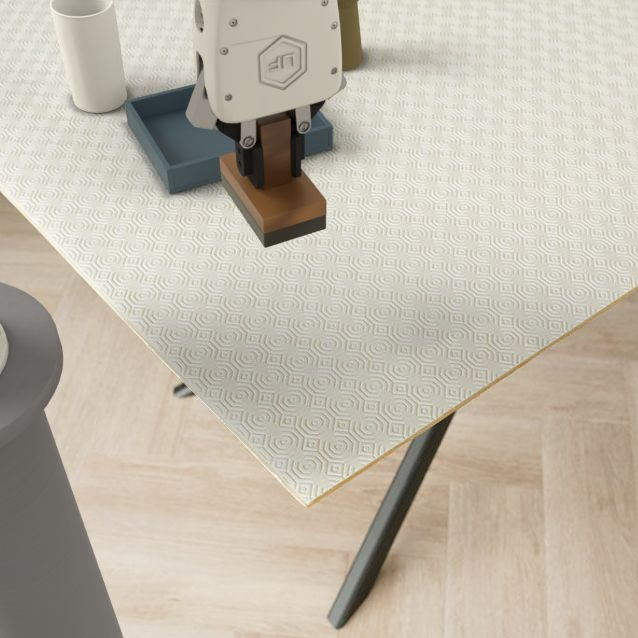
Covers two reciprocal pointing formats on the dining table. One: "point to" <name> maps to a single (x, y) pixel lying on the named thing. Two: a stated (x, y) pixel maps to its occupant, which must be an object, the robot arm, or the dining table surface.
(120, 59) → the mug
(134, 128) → the tray
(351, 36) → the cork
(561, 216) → the dining table surface
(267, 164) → the brush
